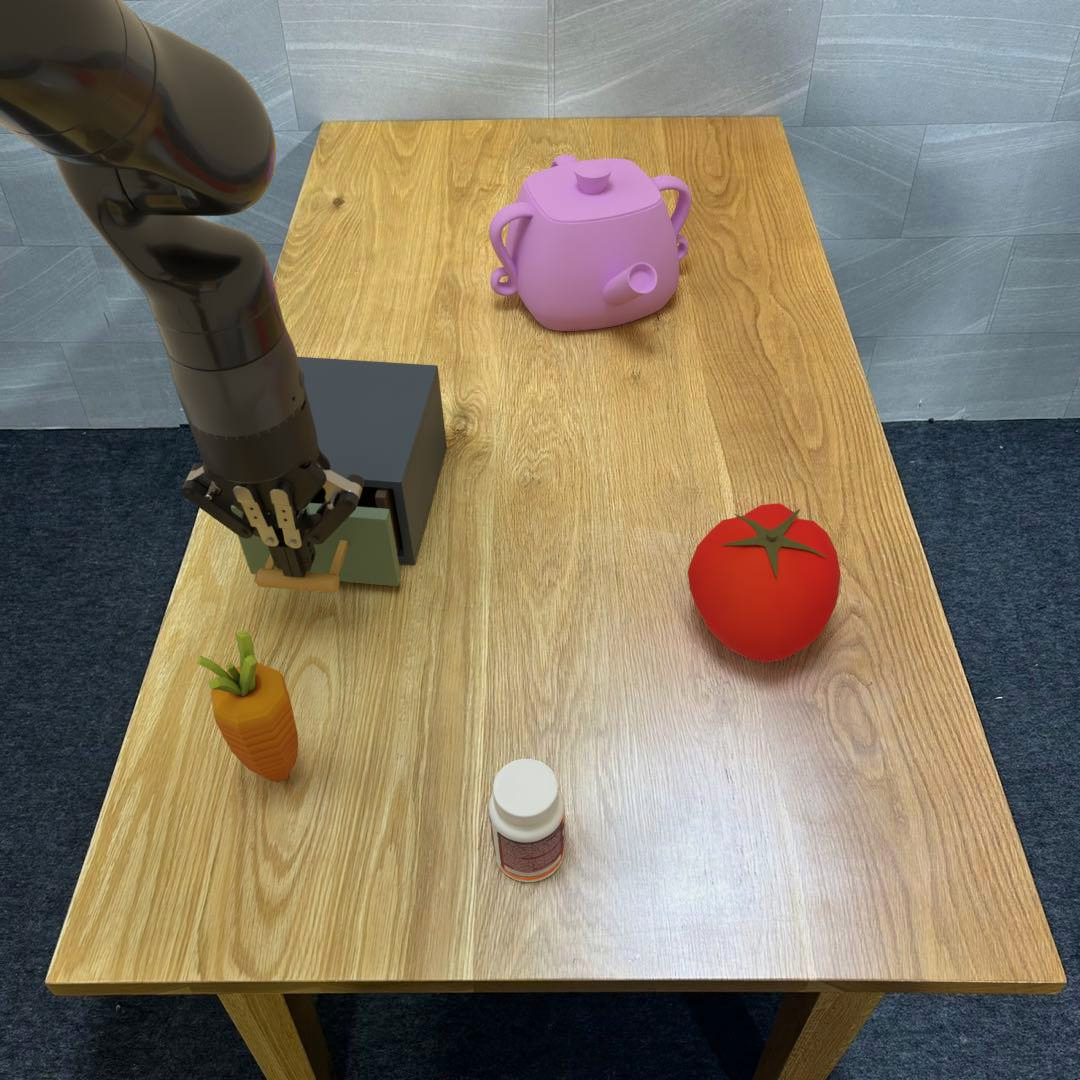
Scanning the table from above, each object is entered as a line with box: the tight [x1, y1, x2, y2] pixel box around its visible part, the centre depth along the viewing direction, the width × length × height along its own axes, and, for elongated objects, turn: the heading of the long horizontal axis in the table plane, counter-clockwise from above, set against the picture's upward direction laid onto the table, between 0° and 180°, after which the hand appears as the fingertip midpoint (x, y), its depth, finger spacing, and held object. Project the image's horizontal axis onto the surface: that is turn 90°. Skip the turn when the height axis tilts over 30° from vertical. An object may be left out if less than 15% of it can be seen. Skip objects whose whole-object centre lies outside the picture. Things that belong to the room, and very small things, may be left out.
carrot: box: [197, 630, 299, 783], centre depth 67 cm, size 5×5×15 cm
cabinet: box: [297, 356, 448, 566], centre depth 88 cm, size 15×14×10 cm
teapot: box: [488, 154, 693, 332], centre depth 108 cm, size 19×21×14 cm
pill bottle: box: [487, 758, 566, 883], centre depth 66 cm, size 5×5×8 cm
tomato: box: [687, 502, 841, 663], centre depth 78 cm, size 11×13×10 cm
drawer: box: [231, 486, 402, 594], centre depth 84 cm, size 18×12×8 cm
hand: (298, 567), depth 78 cm, fingers closed
